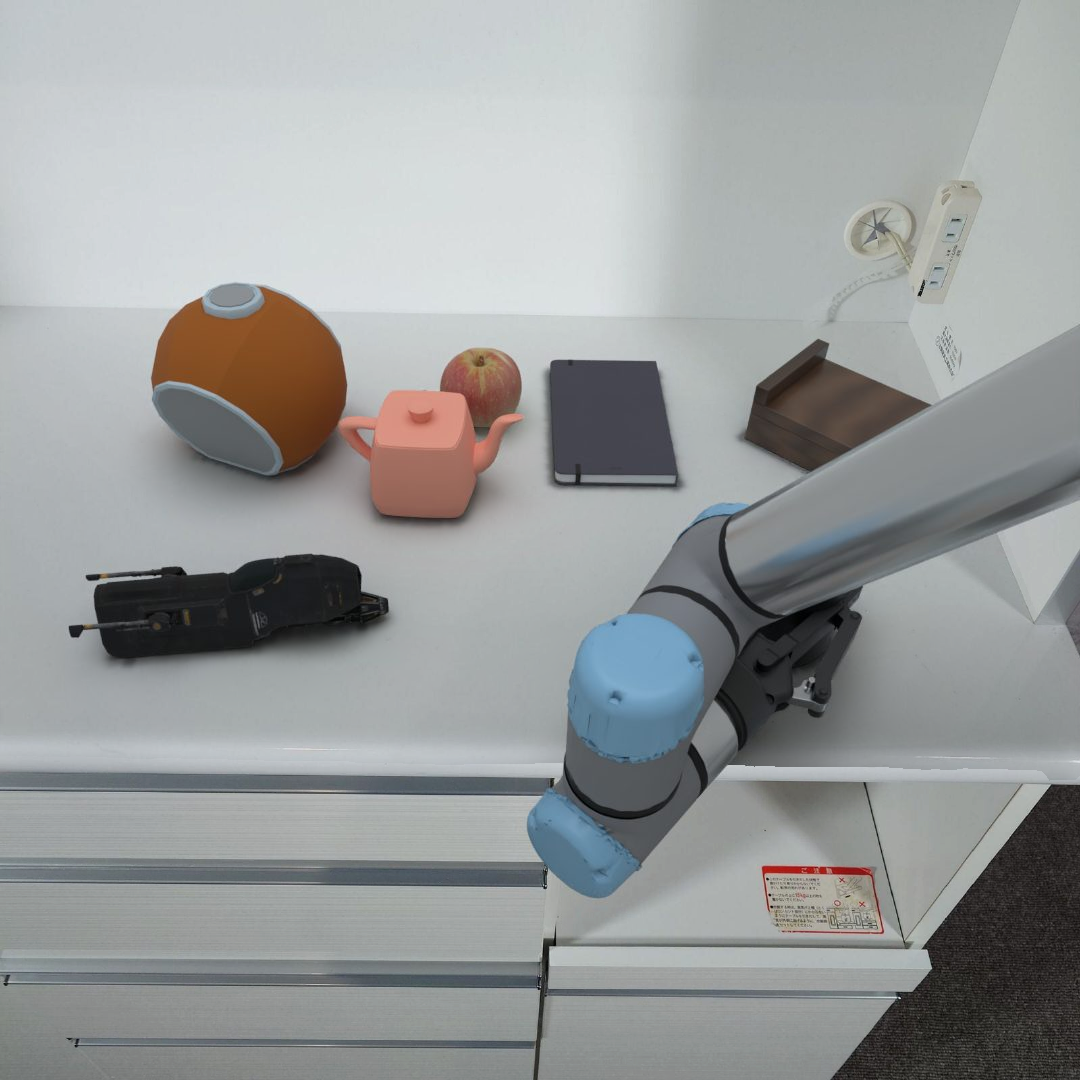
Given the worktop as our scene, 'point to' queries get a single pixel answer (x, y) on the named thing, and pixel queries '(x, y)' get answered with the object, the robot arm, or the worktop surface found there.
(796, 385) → the wooden stand
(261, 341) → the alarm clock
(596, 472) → the notebook
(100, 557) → the worktop surface
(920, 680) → the worktop surface
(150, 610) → the black toy vehicle
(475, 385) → the apple
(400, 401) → the teapot
